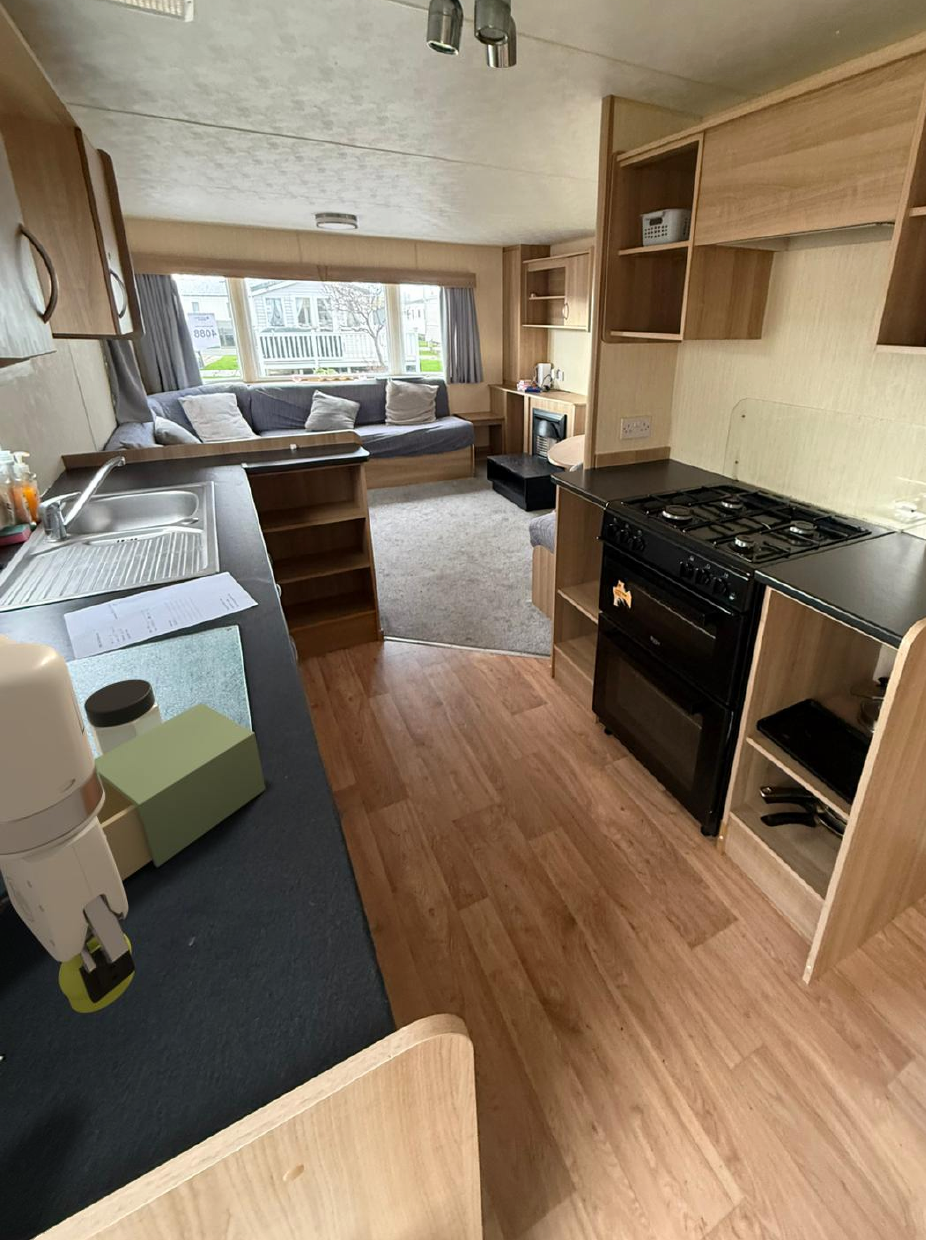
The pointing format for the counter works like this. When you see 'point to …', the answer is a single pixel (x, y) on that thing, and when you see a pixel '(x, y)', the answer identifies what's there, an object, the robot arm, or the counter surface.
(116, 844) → the drawer
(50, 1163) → the counter surface
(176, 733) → the cabinet
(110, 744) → the jar
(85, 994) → the pear
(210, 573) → the counter surface
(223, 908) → the counter surface
